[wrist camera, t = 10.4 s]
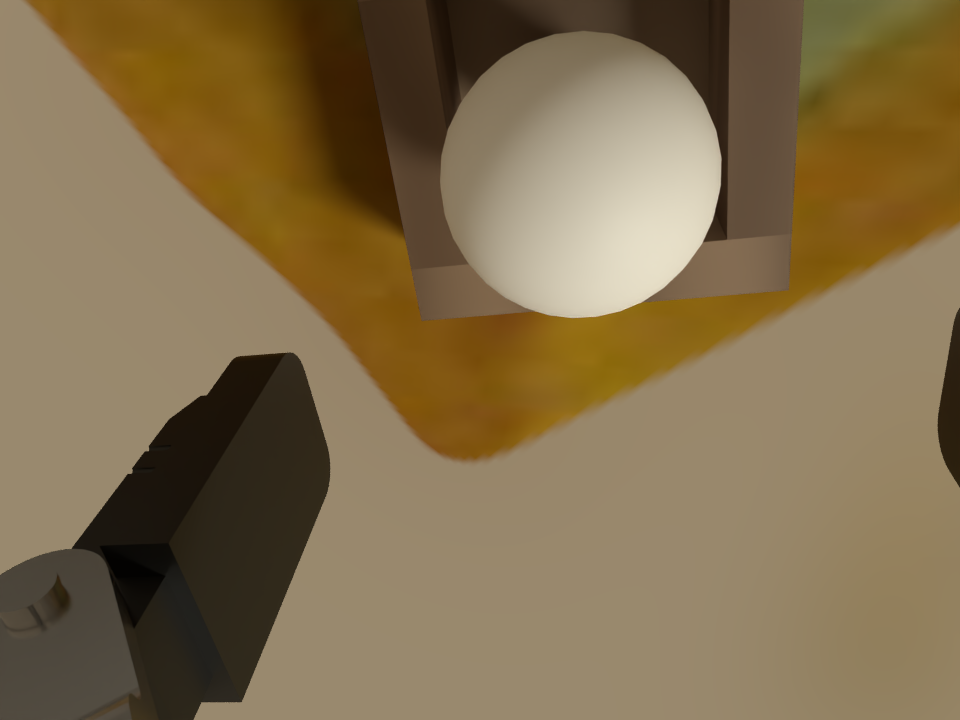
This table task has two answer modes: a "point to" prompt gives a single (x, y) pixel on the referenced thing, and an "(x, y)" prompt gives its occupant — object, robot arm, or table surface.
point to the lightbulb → (580, 174)
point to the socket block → (630, 14)
